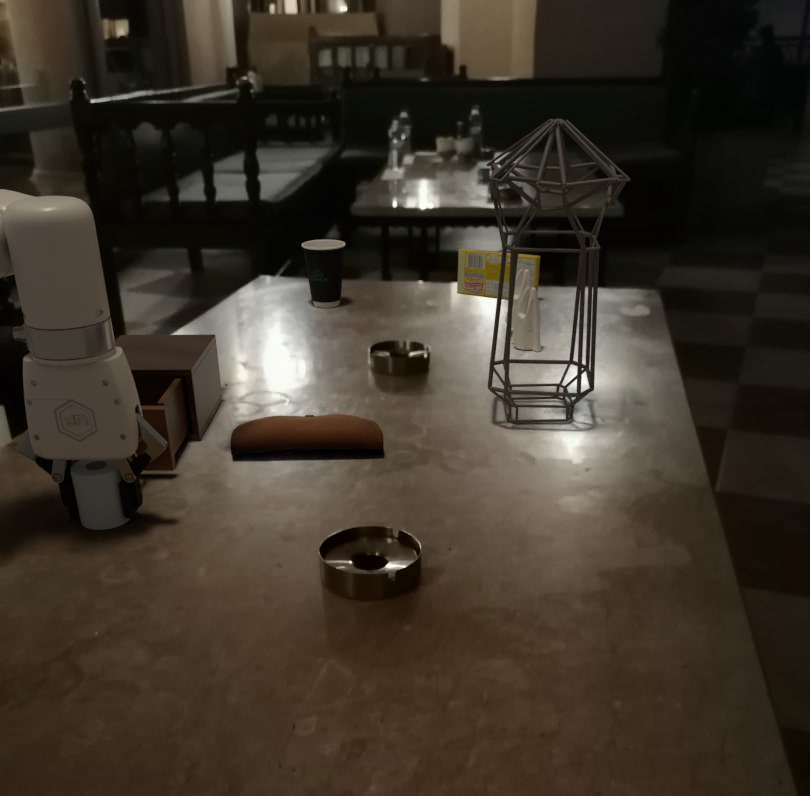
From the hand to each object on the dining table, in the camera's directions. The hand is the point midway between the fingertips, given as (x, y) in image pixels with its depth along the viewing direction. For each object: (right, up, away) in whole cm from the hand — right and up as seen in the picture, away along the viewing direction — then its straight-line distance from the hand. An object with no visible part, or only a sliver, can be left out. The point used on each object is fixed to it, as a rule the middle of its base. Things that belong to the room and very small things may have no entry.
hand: (104, 510), depth 93 cm
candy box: (+48, +43, +79) cm, 102 cm away
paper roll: (0, -1, 0) cm, 1 cm away
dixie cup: (+16, +41, +76) cm, 87 cm away
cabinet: (-1, +13, +25) cm, 28 cm away
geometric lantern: (+48, +14, +26) cm, 57 cm away
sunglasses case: (+19, +8, +17) cm, 27 cm away
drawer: (-1, +7, +12) cm, 14 cm away
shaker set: (+50, +29, +54) cm, 79 cm away
